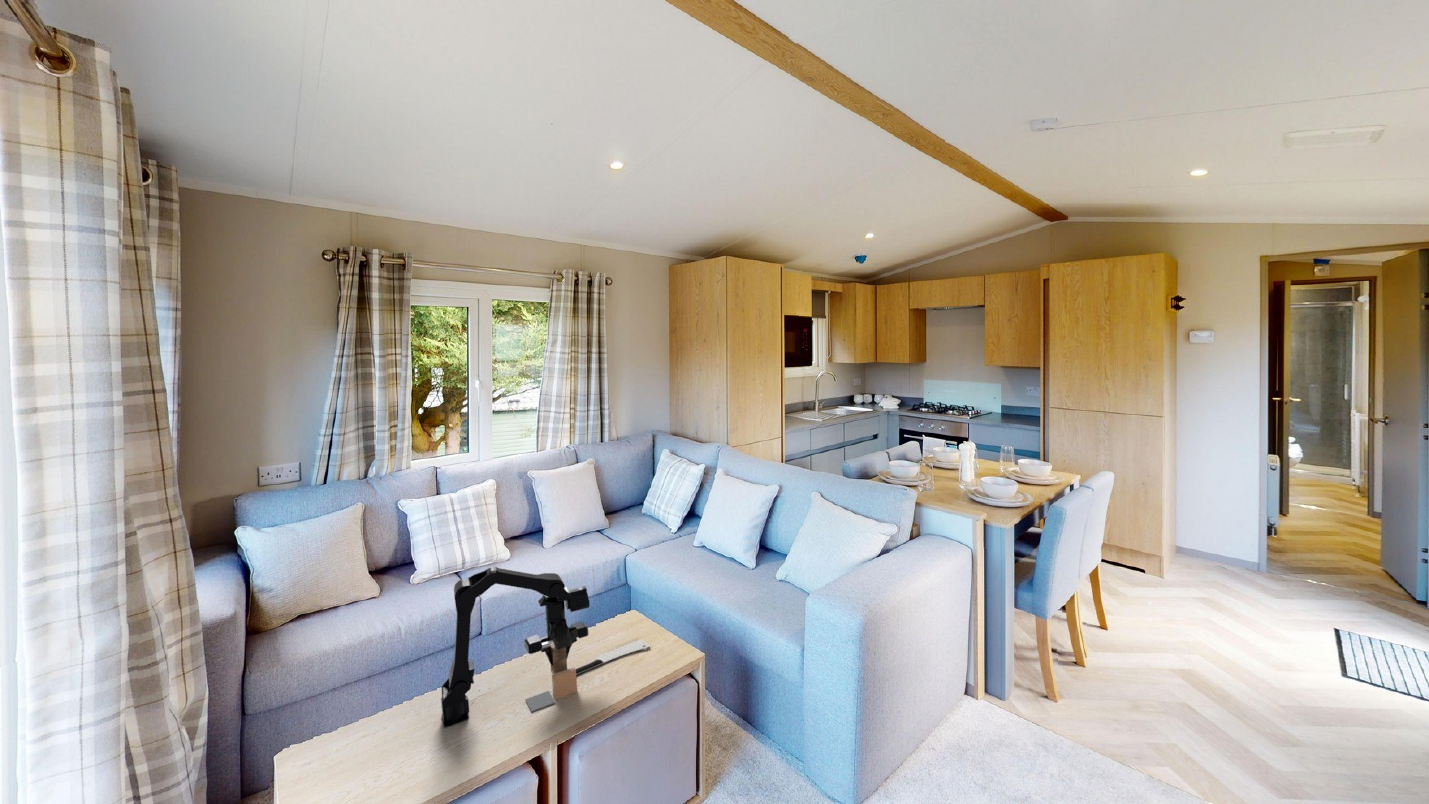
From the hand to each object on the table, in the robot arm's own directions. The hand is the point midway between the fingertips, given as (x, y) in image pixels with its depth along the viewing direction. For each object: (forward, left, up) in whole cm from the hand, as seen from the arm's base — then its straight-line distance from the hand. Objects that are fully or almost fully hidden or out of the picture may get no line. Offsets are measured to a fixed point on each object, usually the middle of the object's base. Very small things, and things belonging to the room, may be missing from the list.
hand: (558, 662), depth 171 cm
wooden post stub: (0, 0, -3) cm, 3 cm away
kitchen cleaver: (+18, +6, -8) cm, 20 cm away
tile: (0, -5, -8) cm, 9 cm away
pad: (-7, -5, -8) cm, 12 cm away
